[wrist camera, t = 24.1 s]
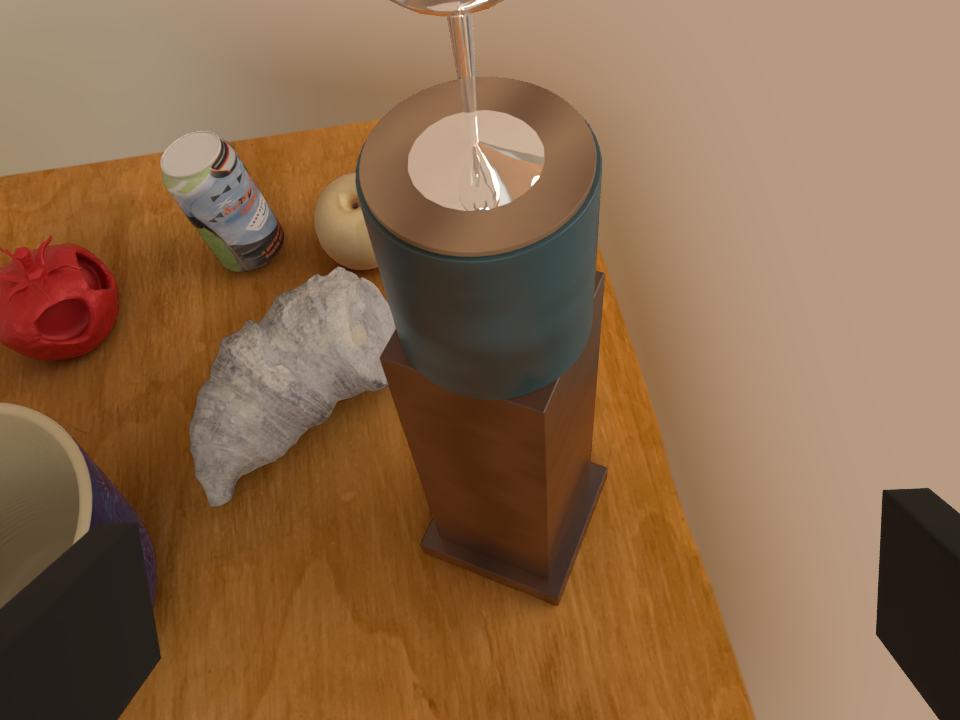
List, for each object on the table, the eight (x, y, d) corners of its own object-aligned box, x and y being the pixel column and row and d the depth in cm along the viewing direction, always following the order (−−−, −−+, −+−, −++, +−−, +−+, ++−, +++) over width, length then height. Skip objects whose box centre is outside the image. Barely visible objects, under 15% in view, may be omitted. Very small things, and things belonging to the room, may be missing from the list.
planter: (44, 806, 53) (-122, 781, 40) (-101, 636, 60) (-284, 567, 47) (242, 589, 59) (154, 507, 46) (92, 456, 66) (-23, 351, 53)
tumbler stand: (606, 476, 62) (652, 96, 32) (557, 606, 57) (558, 303, 27) (479, 432, 64) (411, 42, 35) (422, 552, 60) (289, 223, 30)
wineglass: (548, 79, 33) (544, -284, 23) (590, 211, 29) (607, -149, 19) (373, 110, 33) (290, -241, 23) (393, 247, 29) (305, -97, 19)
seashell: (213, 523, 62) (159, 466, 54) (201, 357, 70) (151, 284, 61) (430, 469, 63) (410, 404, 55) (394, 311, 71) (372, 232, 62)
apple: (401, 193, 77) (417, 164, 70) (399, 281, 76) (416, 261, 69) (311, 185, 75) (319, 155, 68) (309, 275, 74) (316, 255, 67)
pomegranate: (-8, 362, 71) (-79, 296, 63) (55, 268, 76) (-3, 196, 68) (95, 387, 69) (35, 323, 61) (153, 289, 74) (104, 217, 66)
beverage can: (278, 282, 73) (233, 184, 63) (197, 276, 74) (139, 179, 64) (296, 225, 76) (256, 123, 66) (218, 221, 77) (166, 120, 67)
